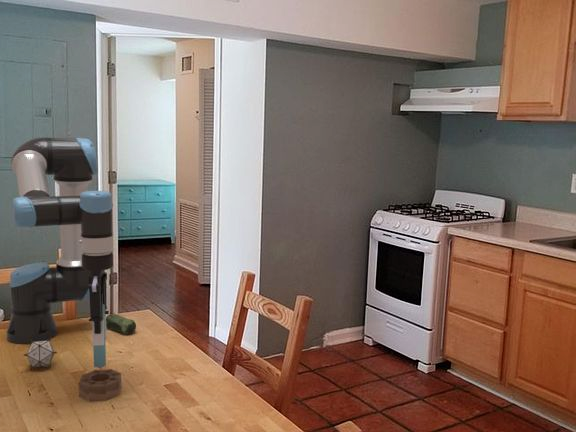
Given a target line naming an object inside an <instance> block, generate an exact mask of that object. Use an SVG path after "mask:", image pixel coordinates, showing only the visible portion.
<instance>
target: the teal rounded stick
mask: <svg viewBox="0 0 576 432" xmlns="http://www.w3.org/2000/svg"><path fill="white" fill-rule="evenodd" d="M105 315H106V314H105V305H104V304H103V319H104V345H94V346H93V345H92V348H93V350H92V351H93V353H92V354H93V367H94V368H98V369H100V368H104V367H106V366H107V350H106V349H107V348H106V347H107V346H106V343H107V342H106V341H107V340H105Z"/></svg>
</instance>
